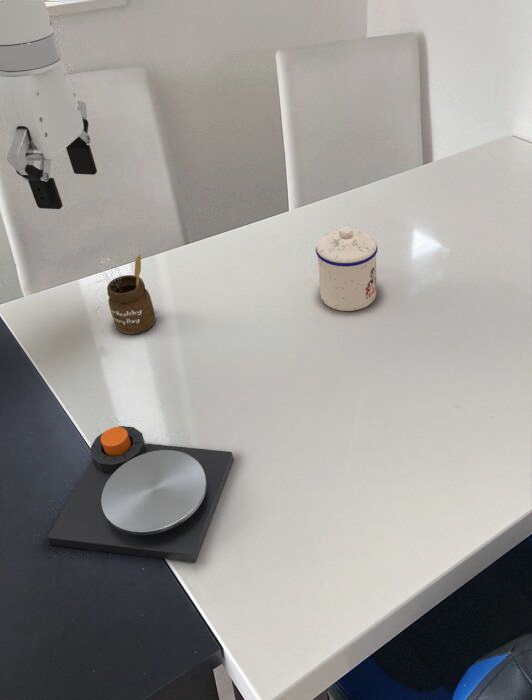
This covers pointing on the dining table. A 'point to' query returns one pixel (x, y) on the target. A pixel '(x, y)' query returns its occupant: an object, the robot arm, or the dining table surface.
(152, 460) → the brushed metal disc
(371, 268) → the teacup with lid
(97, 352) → the dining table surface
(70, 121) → the robot arm
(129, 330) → the utensil holder
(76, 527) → the scale
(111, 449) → the tare button
